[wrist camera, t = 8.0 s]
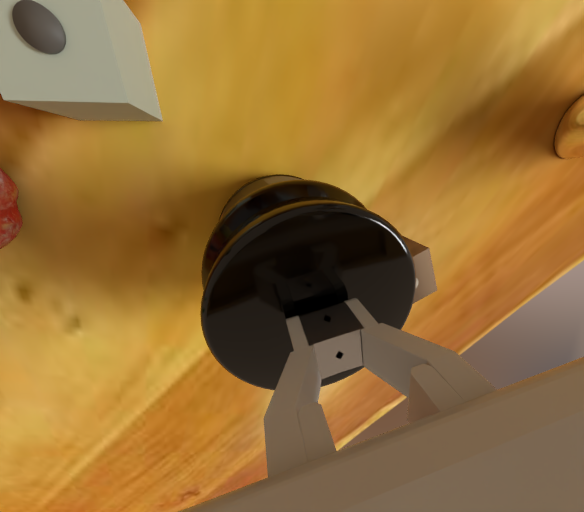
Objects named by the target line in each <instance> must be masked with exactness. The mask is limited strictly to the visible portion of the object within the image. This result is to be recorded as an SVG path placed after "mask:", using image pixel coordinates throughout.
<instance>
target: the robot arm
mask: <svg viewBox="0 0 584 512" xmlns="http://www.w3.org/2000/svg"><path fill="white" fill-rule="evenodd" d="M286 323H287V327H288V330H289V334H290V338H291V342H292V345H293V349H294V351H293V352H290V354H289V357H288V359H287V362H286V364H285V367H284V369H283V372H282V374H281V377H280V379H279V382H278V384H277V387H276V389H275V392H274V394H273V396H272V399H271V401H270V404H269V406H268V409H267V411H266V414H265V416H264V429H265V443H266V456H267V470H268V478H265V479H263V480H260V481H257V482H255V483H252V484H250V485H247V486H244V487H242V488H239V489H236V490H234V491H231V492H229V493H226V494H223V495H221V496H218V497H216V498H213V499H210V500H208V501H205V502H202V503H200V504H197V505H195V506H192V507H189V508H187V509H184V510H182V511H179V512H584V357H582V358H579V359H577V360H574V361H572V362H569V363H566V364H564V365H561V366H559V367H556V368H553V369H551V370H548V371H546V372H543V373H540V374H538V375H535V376H532V377H530V378H527V379H525V380H522V381H519V382H517V383H514V384H511V385H509V386H506V387H504V388H501V389H498V390H497V389H496V388H495V387H494V386H493V385H492V384H491V383H489V382H488V381H487V380H486V379H485V378H484V377H483V376H482V375H481V374H479V373H478V372H477V371H476V370H475V369H474V368H473V367H472V366H470V365H469V364H468V363H467V362H466V361H465V360H464V359H463V358H461V357H460V356H459V355H458V354H457V353H456V352H455V351H452V350H450V349H447V348H445V347H442V346H440V345H437V344H435V343H432V342H429V341H427V340H424V339H422V338H419V337H417V336H414V335H412V334H409V333H407V332H404V331H402V330H399V329H397V328H394V327H392V326H389V325H387V324H384V323H380V324H378V323H377V321H376V320H375V319H374V318H373V317H372V316H371V314H370V313H369V312H368V311H367V310H366V308H365V307H364V306H363V305H362V304H361V303H360V301H359V300H358V299H357V298H353V299H350V300H347V301H344V302H341V303H338V304H335V305H332V306H328V307H325V308H322V309H319V310H315V311H311V312H308V313H304V314H301V315H298V316H294V317H291V318H287V319H286ZM362 365H364V367H365V368H367V369H368V370H370V371H371V372H372V373H374V374H375V375H377V376H378V377H379V378H381V379H382V380H384V381H385V382H387V383H388V384H389V385H391V386H392V387H394V388H395V389H397V390H398V391H399V392H401V393H402V394H404V395H405V396H406V397H408V398H409V401H408V414H407V420H408V422H409V424H407V425H404V426H401V427H399V428H396V429H393V430H391V431H389V432H386V433H383V434H380V435H378V436H375V437H372V438H370V439H367V440H365V441H362V442H360V443H357V444H354V445H352V446H349V447H347V448H344V449H341V450H338V451H336V448H335V445H334V442H333V439H332V436H331V433H330V430H329V427H328V424H327V421H326V418H325V415H324V412H323V409H322V406H321V404H318V398H319V392H320V387H321V380H322V379H324V378H327V377H329V376H332V375H335V374H337V373H340V372H343V371H346V370H350V369H353V368H356V367H359V366H362Z"/></svg>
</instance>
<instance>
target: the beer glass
mask: <svg viewBox="0 0 584 512" xmlns="http://www.w3.org/2000/svg"><path fill="white" fill-rule="evenodd" d="M554 147H555V151H556V153H557V155H558V156H559V157H561V158H564V159H572V158H580V157H584V95H583V96H581V97H580V98H579V99H578V100H577V101H575V102H574V103H573V104H572V106H571V107H570V108H569V109H568V110H567V112H566V113H565V115H564V116H563V118H562V120H561V122H560V124H559V126H558V129H557V131H556V135H555V141H554Z"/></svg>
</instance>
